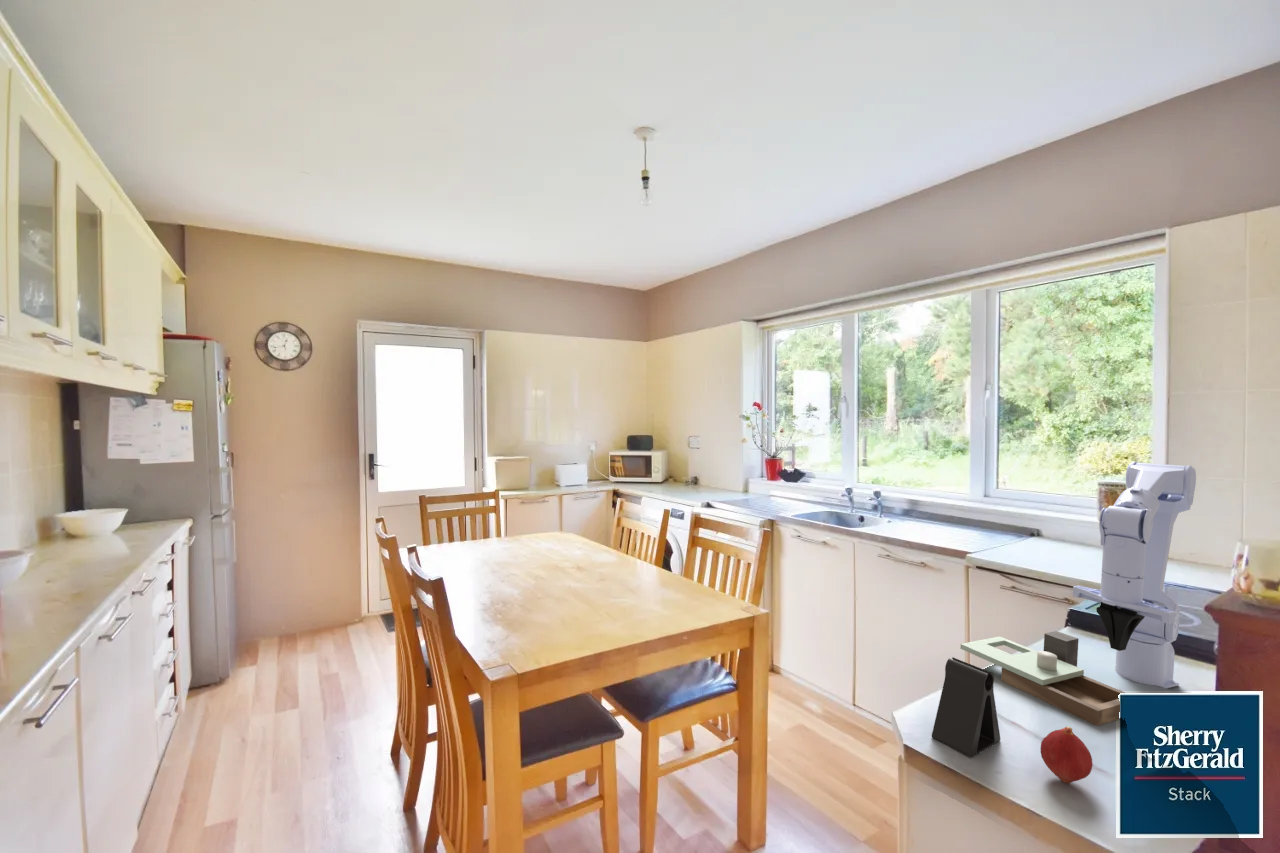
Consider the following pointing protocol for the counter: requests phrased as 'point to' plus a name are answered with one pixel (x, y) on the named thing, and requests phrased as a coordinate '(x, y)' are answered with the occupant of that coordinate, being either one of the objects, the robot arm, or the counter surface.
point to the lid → (1023, 660)
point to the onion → (1066, 755)
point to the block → (1062, 646)
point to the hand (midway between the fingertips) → (1118, 648)
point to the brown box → (1073, 696)
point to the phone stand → (967, 709)
